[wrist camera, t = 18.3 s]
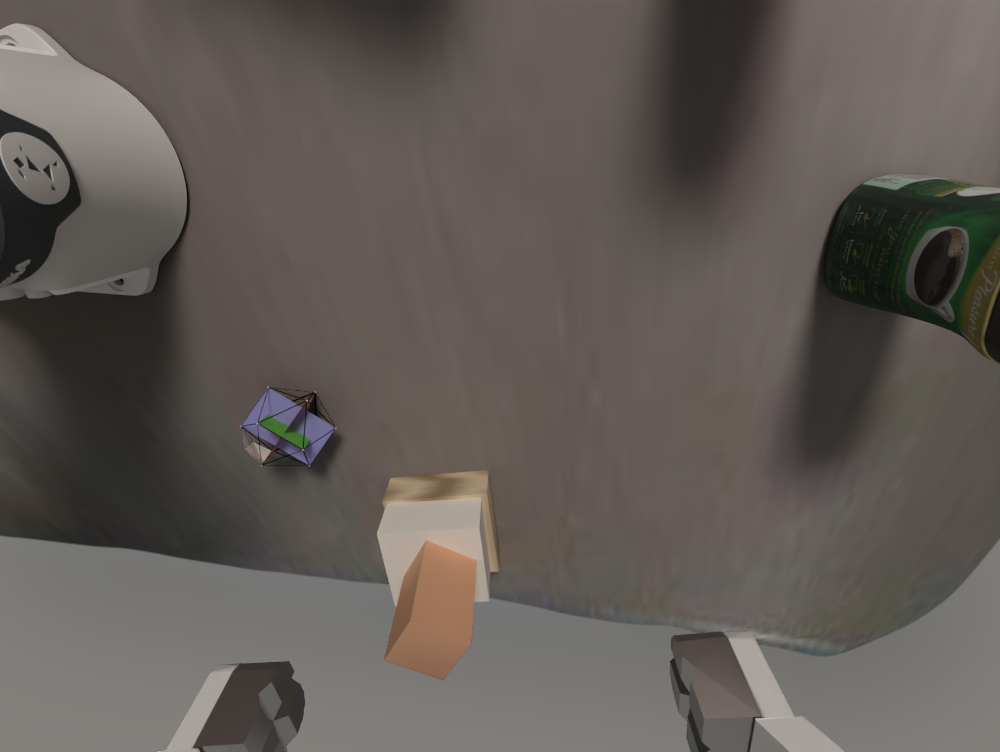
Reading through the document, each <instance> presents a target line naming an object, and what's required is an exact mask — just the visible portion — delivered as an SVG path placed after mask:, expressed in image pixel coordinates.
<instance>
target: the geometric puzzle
mask: <svg viewBox="0 0 1000 752" xmlns="http://www.w3.org/2000/svg"><path fill="white" fill-rule="evenodd" d="M267 388H268V389H267V390H266V391H265V393H264V394H263V396H262V397H261V399H260V400H259V401H258V403H257V404H256V406H255V407H254V408H253V410H252V411H251V413H250V414H249V416H248V417H247V418H246V420H245V421H244V423H243V424H242V425H241V426H240V427H241V430H242V438H243V446H244V450H245V451H246V452H247V453H248V454H249V455H250V456H251V457H252V458H253V459H255V460H256V461H257V462H258V463H259V464H260V466H310V464H311V463H312V462H313V460H314V459H315V457H316V456H317V454H318V453H319V452H320V450H321V449H322V447H323V446H324V444H325V443H326V442H327V440H328V439H329V437H330V436H331V434H332V433H333V432H334V430H335V429H337V428H336V427H334V426H333V425H334V424H333V425H332V424H331V423H330V422H329V421H328V420H327V419H326V418H325V417H324V416H323V415H322V414H321V413H320V412H319V411H318V410H317V409H316V392H314V393H311V394H312V395H311V394H309V395H311V396H310V397H309V398H308V399H307V400H305V399H302V398H304V397H306V396H309V395H306V396H303V397H301V398H299V397H296V396H294V397H296V398H298V399H302V400H305V401H304V402H306V403H305V404H304V405H303V407H300V406H299V405H300V404H302V403H304V402H302V403H299V404H295V403H294V402H293V401H296V400H298V399H296V400H293V401H290V400H289V399H287V398H285V397H284V396H282V395H280V394H279V393H277V392H276V391H279V390H276V389H273V388H271V387H267ZM272 389H273V390H272ZM277 389H280V388H277ZM274 390H276V391H274ZM286 390H289V389H286ZM296 391H299V390H296ZM279 392H281V391H279ZM305 392H308V391H305ZM282 393H284V392H282ZM285 394H287V393H285ZM288 395H290V394H288ZM313 395H315V408H314V407H313V406H312V405H311V404H310V403H309V400H310V399H311V397H312V396H313ZM291 396H293V395H291ZM317 397H318V396H317ZM318 399H319V398H318ZM319 401H320V400H319ZM307 403H309V404H310V405H311V406H312V407H313V408H314V409H315V415H314V414H312V413H310V412H309V411H307ZM321 404H322V403H321ZM305 406H306V410H305V409H304V407H305ZM322 406H323V405H322ZM324 409H325V408H324ZM316 411H318V412H319V413H320V414H321V415H322V416H323V417H324V418H325V419H326V420H327V421H328V422H329V423H330V424H331V425H330V424H328V423H327V422H325V421H323V420H322V419H320V418H318V417H317V416H316ZM325 411H326V410H325ZM326 413H327V412H326ZM328 416H329V415H328ZM329 418H330V417H329ZM331 421H332V420H331ZM332 423H333V422H332ZM243 429H245V430H246V429H247V430H248V431H247V430H246V431H247V432H249V431H250V432H252V433H254V434H255V435H257V436H258V438H256V437H255V436H254V435H252V434H251V433H250V432H249V433H250V434H251V435H252V436H254V437H255V438H256V439H258V440H259V437H261V438H262V439H264V440H266V441H268V442H269V443H271V444H273V445H274V446H273V449H270V448H269V447H268V446H267V445H265V444H264V443H263V442H261V441H260V440H259V441H260V442H261V443H263V444H264V445H265V446H267V447H268V448H269V449H270V450H269V449H267V448H265V447H263V446H261V445H260V442H259V444H257V443H255V442H253V441H252V440H251V439H250V438H249V436H248V435H247V434H246V432H245V431H244V430H243ZM276 447H278V449H281V450H283V451H285V452H287V453H288V454H290V455H292V456H294V457H295V458H297V459H299V460H301V461H302V462H301V463H303V462H304V464H306V465H265V464H268V463H270V462H268V463H265V461H266V460H267V459H268V458H269V457H270V455H271V454H272V453H273V452H275V451H276V450H278V449H276ZM275 449H276V450H275ZM271 450H272V451H271ZM276 453H278V452H276ZM278 454H280V453H278ZM281 455H283V454H281ZM283 456H284V457H288V456H289V455H287V456H285V455H283ZM284 457H282V458H284ZM288 458H290V457H288ZM279 459H281V458H279ZM291 459H293V458H291ZM276 460H278V459H276ZM276 460H274V461H276ZM293 460H295V459H293ZM296 461H298V460H296ZM271 462H273V461H271ZM299 462H300V461H299ZM264 463H265V464H264Z"/></svg>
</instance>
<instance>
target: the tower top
mask: <svg viewBox="0 0 1000 752" xmlns="http://www.w3.org/2000/svg"><path fill="white" fill-rule="evenodd" d="M377 537H378V541H379V545H380V548H381V552H382V556H383V560H384V564H385V568H386V572H387V576H388V580H389V584H390V588H391V592H392V596H393V599H394V604H395V606H397V602H398V598H399V594H400V590H401V585H402V581H403V577H404V575H405V573H406V572H407V570H408V569H409V567H410V565H411V564H412V562H413V561H414V559H415V557H416V556H417V554H418V552H419V551H420V549H421V548H422V546H423V544H424V543H425V541H426V540H427V541H429V542H432V543H434V544H437V545H439V546H442V547H444V548H447V549H449V550H452V551H454V552H457V553H459V554H462V555H464V556H467V557H469V558H472V559H474V560H477V565H476V581H475V597H474V602H485V601H486V602H487V601H489V597H490V560H489V553H488V545H487V537H486V530H485V522H484V514H483V506H482V499H481V498H469V499H453V500H437V501H421V502H406V503H390V504H387V505H386V508H385V511H384V514H383V517H382V520H381V523H380V526H379V529H378V532H377Z"/></svg>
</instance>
